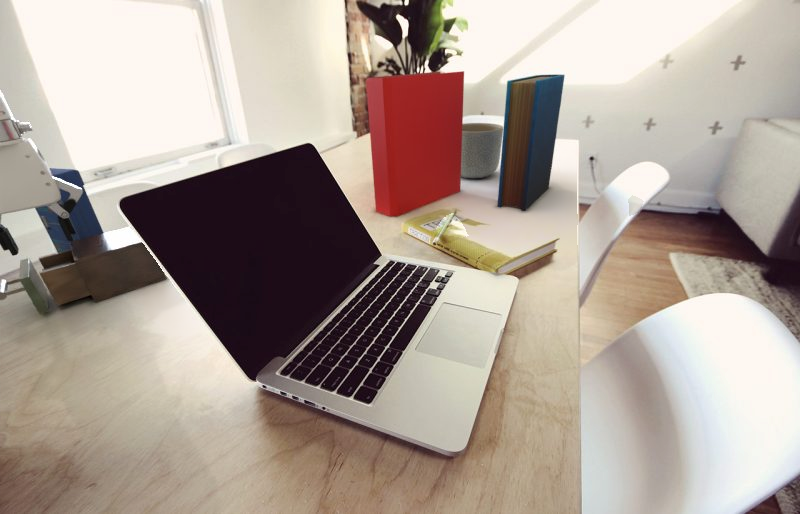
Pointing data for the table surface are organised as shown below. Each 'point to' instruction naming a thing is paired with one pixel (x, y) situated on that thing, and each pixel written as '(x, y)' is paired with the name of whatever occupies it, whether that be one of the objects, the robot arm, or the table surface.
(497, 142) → the planter
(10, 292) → the drawer
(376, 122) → the book
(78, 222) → the electronic device
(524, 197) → the book
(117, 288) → the cabinet
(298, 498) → the table surface
